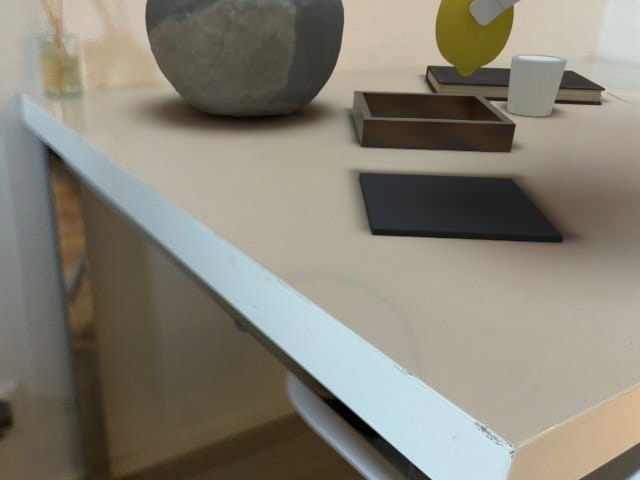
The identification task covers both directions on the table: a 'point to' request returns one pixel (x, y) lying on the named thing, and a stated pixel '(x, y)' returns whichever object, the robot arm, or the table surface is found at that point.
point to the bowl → (246, 51)
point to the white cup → (534, 84)
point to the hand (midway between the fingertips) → (467, 13)
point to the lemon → (470, 36)
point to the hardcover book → (507, 84)
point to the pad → (453, 208)
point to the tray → (431, 121)
